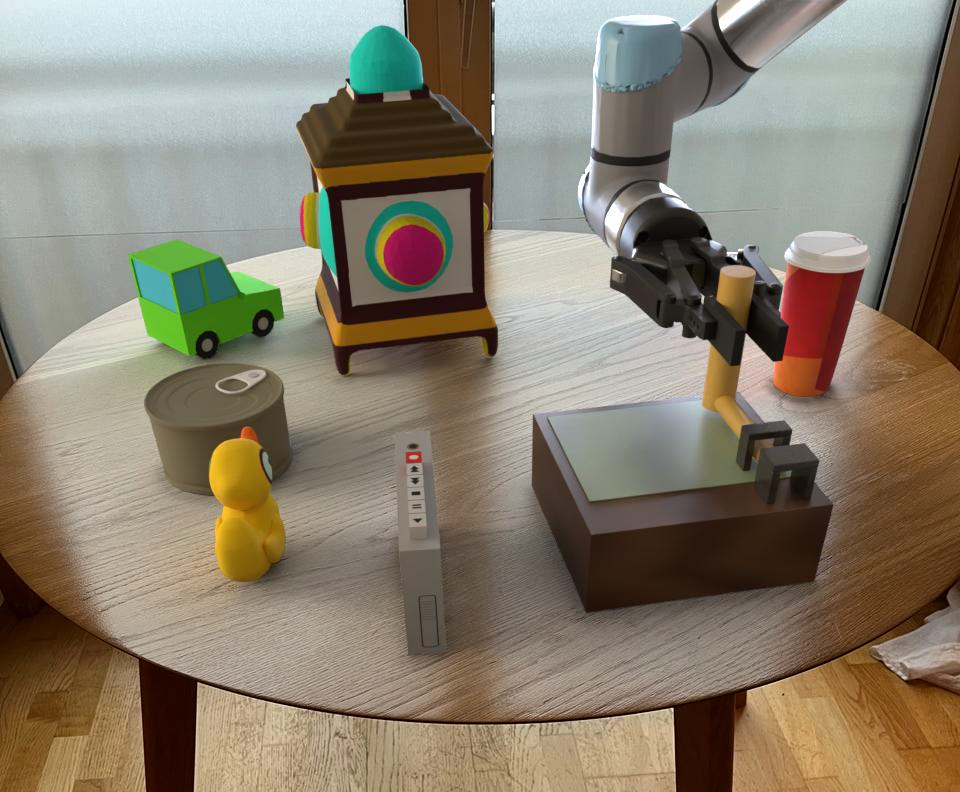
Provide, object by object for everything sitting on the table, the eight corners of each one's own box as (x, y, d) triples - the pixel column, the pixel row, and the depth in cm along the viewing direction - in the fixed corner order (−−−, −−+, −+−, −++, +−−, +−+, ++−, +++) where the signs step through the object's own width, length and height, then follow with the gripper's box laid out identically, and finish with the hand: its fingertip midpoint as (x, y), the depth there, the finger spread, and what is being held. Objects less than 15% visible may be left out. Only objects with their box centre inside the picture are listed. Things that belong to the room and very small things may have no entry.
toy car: (295, 330, 113) (282, 240, 106) (197, 369, 106) (176, 275, 99) (241, 306, 118) (226, 220, 112) (145, 342, 111) (122, 252, 105)
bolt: (727, 397, 83) (747, 263, 76) (788, 472, 74) (819, 328, 66) (697, 400, 83) (715, 266, 75) (755, 476, 73) (782, 332, 66)
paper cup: (820, 363, 104) (850, 225, 95) (854, 397, 98) (889, 254, 89) (749, 370, 103) (772, 232, 94) (778, 405, 97) (806, 261, 88)
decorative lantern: (514, 363, 105) (515, 37, 86) (328, 387, 102) (285, 53, 82) (469, 293, 120) (461, 1, 101) (306, 312, 117) (265, 14, 97)
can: (134, 467, 90) (115, 398, 86) (237, 417, 97) (224, 350, 93) (218, 512, 85) (202, 440, 80) (321, 455, 91) (311, 386, 87)
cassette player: (403, 529, 82) (393, 421, 75) (435, 527, 82) (429, 419, 76) (408, 654, 70) (397, 538, 64) (446, 652, 70) (439, 536, 64)
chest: (726, 462, 89) (744, 355, 82) (814, 581, 76) (843, 465, 69) (531, 486, 87) (533, 377, 80) (586, 613, 73) (593, 495, 67)
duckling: (233, 520, 84) (210, 412, 77) (297, 518, 84) (279, 411, 77) (208, 604, 75) (180, 491, 68) (279, 602, 75) (257, 489, 68)
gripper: (733, 272, 94) (848, 382, 76) (572, 287, 92) (651, 404, 74) (745, 188, 89) (871, 285, 71) (575, 202, 87) (661, 306, 69)
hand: (759, 346), depth 73 cm, fingers closed on bolt, 3 cm apart
